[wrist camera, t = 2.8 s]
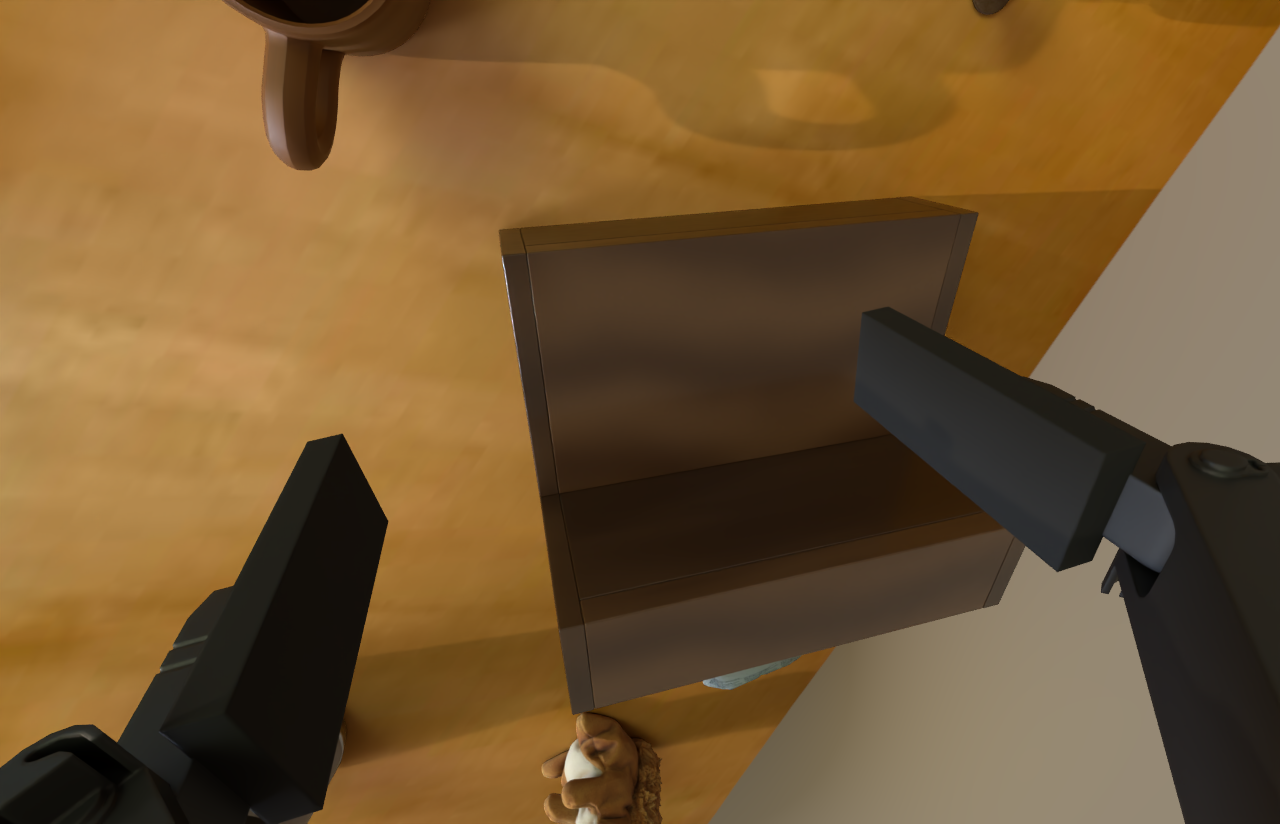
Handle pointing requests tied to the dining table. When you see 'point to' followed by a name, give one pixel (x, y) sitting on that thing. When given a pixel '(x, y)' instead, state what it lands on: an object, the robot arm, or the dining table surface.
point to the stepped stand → (735, 439)
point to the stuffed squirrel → (605, 777)
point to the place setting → (989, 5)
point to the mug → (318, 63)
